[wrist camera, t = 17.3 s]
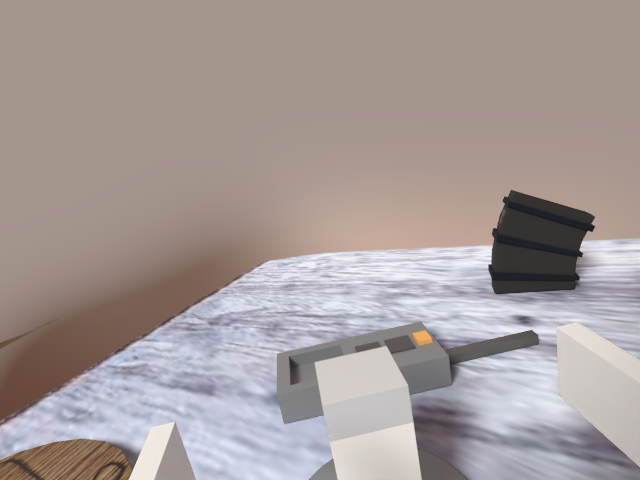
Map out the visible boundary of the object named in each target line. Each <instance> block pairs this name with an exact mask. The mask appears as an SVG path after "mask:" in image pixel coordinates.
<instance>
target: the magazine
mask: <svg viewBox="0 0 640 480" xmlns="http://www.w3.org/2000/svg"><path fill="white" fill-rule="evenodd" d="M503 202H504V203H505V205H504V208H503V210H502V212H501V214H500V217H499V221H498V226H497V229H495V228H494V229H493V232H492V235H493V237H494V243H493V248H492V264H491V265H489V273H490V275H491V277H492V287H493V289H494V292H495V293H496V294H502V293H519V292H535V291H552V290H568V289H575V280H579V276H578V275H577V274H576V273H575V269H576V261H577V257H582V255H583V253H582V252H581V251H579V249H580V246H581V243H582V240H583V238H584V236H585V235H586V233H587V231H591V232H592V231H593V229H594V227H595V226H593V225H592V224H591V223H592V222H593V220H594V218H595V217H594V216H593V215H591V214H589V213H587V212H585V211H581V210H578V209H574V208H570V207H567V206H564V205H560V204H557V203H554V202H550V201H547V200H543V199H540V198H537V197H533V196H529V195H526V194H523V193H519V192H516V191H513V190H511V192H510V194H509V196H508V197H504V199H503Z"/></svg>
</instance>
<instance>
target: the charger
mask: <svg viewBox="0 0 640 480" xmlns="http://www.w3.org/2000/svg"><path fill="white" fill-rule="evenodd" d="M315 368H316V374H317V379H318V385H319V391H320V397H321V402H322V408H323V412H324V417H325V422H326V426H327V431H328V436H329V441H330V445H331V450H332V455H333V459H334V464H335V469H336V474H337V478H338V480H422V478H421V471H420V464H419V458H418V451H417V444H416V437H415V430H414V423H413V416H412V409H411V402H410V395H409V388H408V384H407V383H406V381H405V379H404V377H403V375H402V373H401V372H400V370H399V368H398V366H397V364H396V363H395V361H394V359H393V357H392V355H391V353H390V352H389V350H388V348H387V346H385V347H380V348H376V349H371V350H367V351H362V352H358V353H353V354H349V355H345V356H340V357H336V358H331V359H327V360H322V361H318V362H315Z"/></svg>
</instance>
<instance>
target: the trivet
mask: <svg viewBox="0 0 640 480" xmlns="http://www.w3.org/2000/svg"><path fill="white" fill-rule="evenodd" d="M132 471H133V470H132V467H131V465H130V464H129V462H128V460H127V459H126V457H125V455H124V454H123V452H122V451H121V450H120V449H118V448H116V447H114V446H112V445H110V444H109V443H107V442H105V441H97V440H88V439H76V440H68V441H60V442H53V443H49V444H46V445H43V446H39V447H36V448H32V449H29V450H25V451H22V452H19V453H17V454H14V455H12V456H9V457H7V458H5V459H2V460H0V480H129V478H130V476H131V473H132Z"/></svg>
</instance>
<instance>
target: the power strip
mask: <svg viewBox="0 0 640 480" xmlns="http://www.w3.org/2000/svg"><path fill="white" fill-rule="evenodd" d="M537 344H538V335H537V334H536V333H535V332H533V331H532V330H530V331H525V332H521V333H517V334H512V335H508V336H503V337H499V338H495V339H490V340H486V341H482V342H477V343H473V344H468V345H464V346H460V347H455V348H451V349H446V350H444V349H443V348H442V347H441V346H440V344H439V343H438V342H437V341H436V340H435V338H434V337H433V336H432V335H431V333H430V332H429V331H428V330H427V329H426V327H425V326H424V325H423V324H422V322H418V323H413V324H409V325H404V326H400V327H395V328H391V329H386V330H382V331H377V332H373V333H368V334H364V335H359V336H355V337H350V338H346V339H341V340H337V341H332V342H328V343H323V344H319V345H314V346H310V347H306V348H301V349H297V350H292V351H288V352H283V353H279V354H277V397H278V401H279V405H280V409H281V413H282V417H283V421H284V424H287V423H291V422H295V421H299V420H304V419H308V418H312V417H317V416H321V415H324V412H323V408H322V402H321V397H320V391H319V385H318V379H317V374H316V368H315V362H318V361H322V360H327V359H331V358H336V357H340V356H345V355H349V354H353V353H358V352H362V351H367V350H371V349H376V348H380V347H385V346H387V348H388V350H389V352H390V353H391V355H392V357H393V359H394V361H395V363H396V364H397V366H398V368H399V370H400V372H401V373H402V375H403V377H404V379H405V381H406V383H407V384H408V388H409V395H411V394H415V393H419V392H423V391H428V390H432V389H436V388H441V387H445V386H449V385H452V380H451V371H450V364H454V363H459V362H463V361H467V360H472V359H476V358H480V357H485V356H489V355H493V354H498V353H502V352H506V351H511V350H515V349H519V348H524V347H528V346H533V345H537Z"/></svg>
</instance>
